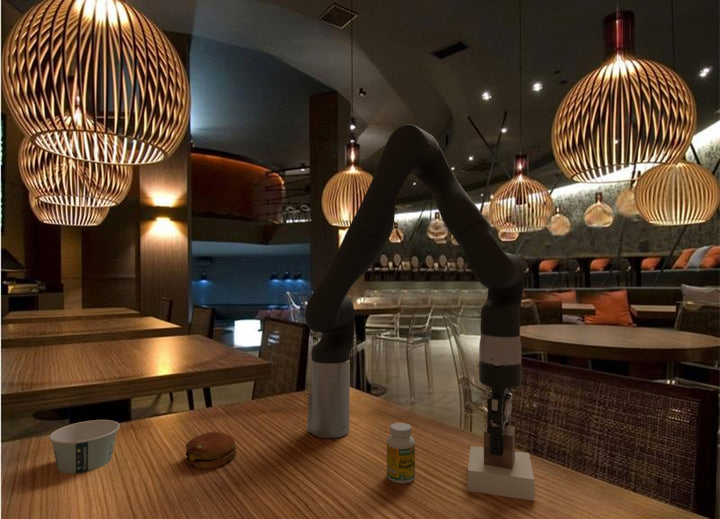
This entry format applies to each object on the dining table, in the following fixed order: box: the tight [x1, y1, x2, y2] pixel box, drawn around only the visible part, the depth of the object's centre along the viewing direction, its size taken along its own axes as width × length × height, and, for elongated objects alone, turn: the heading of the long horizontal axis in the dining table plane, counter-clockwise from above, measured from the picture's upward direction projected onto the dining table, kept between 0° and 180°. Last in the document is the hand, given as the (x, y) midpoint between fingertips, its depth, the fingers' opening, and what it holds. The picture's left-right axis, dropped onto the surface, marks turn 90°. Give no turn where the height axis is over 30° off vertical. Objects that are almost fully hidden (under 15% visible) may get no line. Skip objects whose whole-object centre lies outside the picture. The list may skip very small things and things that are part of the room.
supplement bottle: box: [386, 422, 416, 485], centre depth 82 cm, size 5×5×10 cm
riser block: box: [467, 445, 535, 502], centre depth 81 cm, size 11×11×4 cm
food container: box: [48, 419, 121, 475], centre depth 87 cm, size 12×12×6 cm
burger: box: [185, 431, 237, 470], centre depth 89 cm, size 10×9×5 cm
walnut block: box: [483, 422, 516, 470], centre depth 81 cm, size 5×5×6 cm
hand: (499, 445), depth 81 cm, fingers open, 8 cm apart
